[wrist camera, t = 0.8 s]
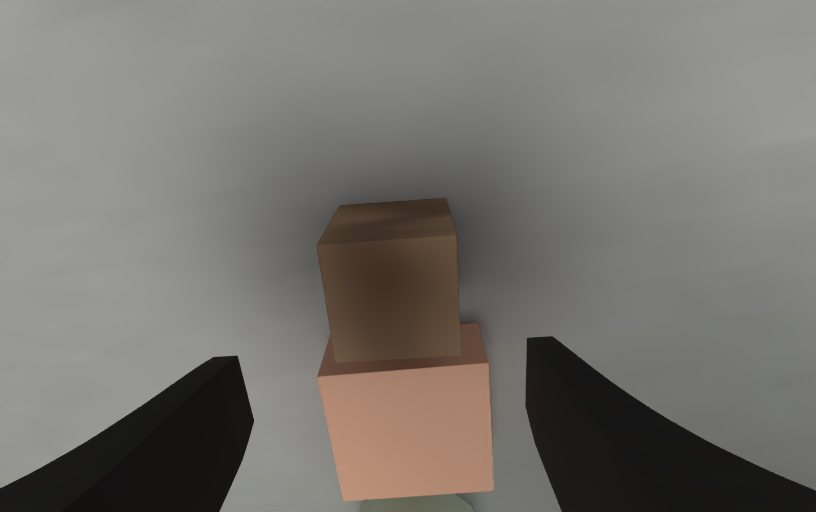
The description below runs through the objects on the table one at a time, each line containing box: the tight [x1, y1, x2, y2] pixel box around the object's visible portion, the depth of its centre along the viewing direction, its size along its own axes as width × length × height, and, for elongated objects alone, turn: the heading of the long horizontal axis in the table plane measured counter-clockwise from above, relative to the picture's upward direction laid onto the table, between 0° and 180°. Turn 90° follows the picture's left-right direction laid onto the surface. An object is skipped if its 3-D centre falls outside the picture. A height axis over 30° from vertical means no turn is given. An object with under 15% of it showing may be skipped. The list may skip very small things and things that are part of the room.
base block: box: [317, 323, 494, 501], centre depth 21 cm, size 7×7×4 cm
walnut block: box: [317, 198, 461, 363], centre depth 17 cm, size 4×4×5 cm
